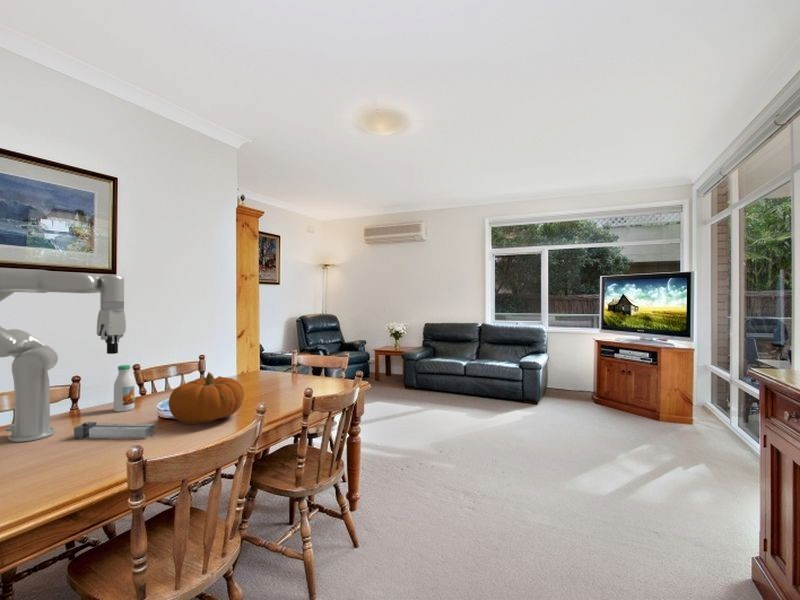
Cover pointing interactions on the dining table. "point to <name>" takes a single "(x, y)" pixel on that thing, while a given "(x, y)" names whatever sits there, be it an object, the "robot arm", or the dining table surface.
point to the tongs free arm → (152, 426)
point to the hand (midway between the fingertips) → (112, 353)
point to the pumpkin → (206, 399)
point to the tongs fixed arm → (110, 431)
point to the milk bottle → (124, 390)
